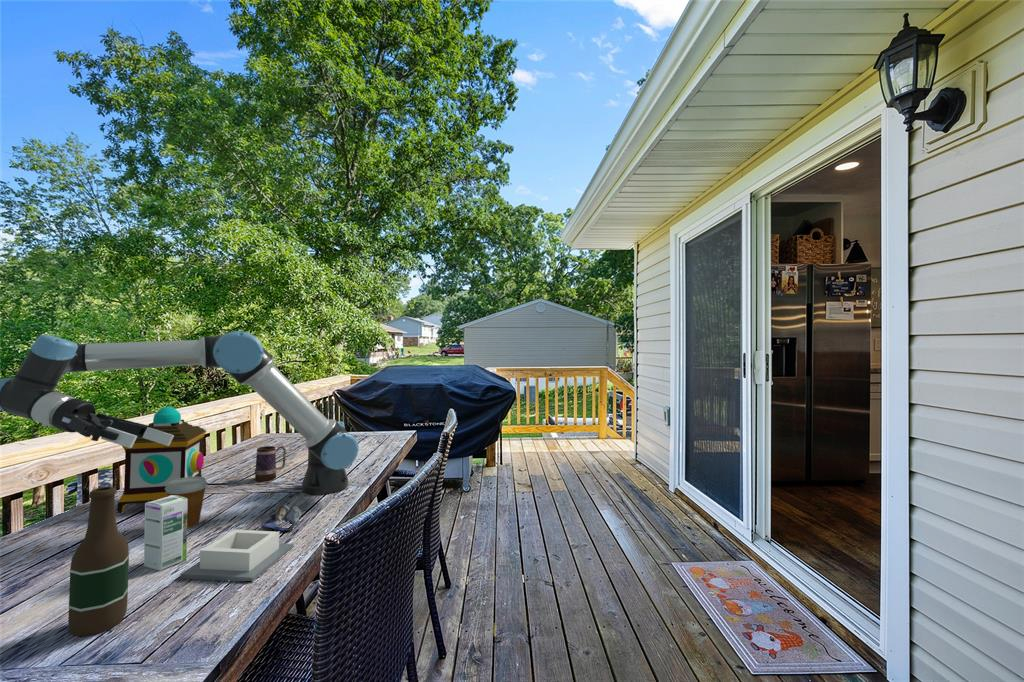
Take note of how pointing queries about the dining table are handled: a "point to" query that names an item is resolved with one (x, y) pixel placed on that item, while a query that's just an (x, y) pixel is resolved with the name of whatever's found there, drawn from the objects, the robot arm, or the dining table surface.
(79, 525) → the dining table surface
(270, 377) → the robot arm
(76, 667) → the dining table surface
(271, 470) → the mug
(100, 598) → the beer bottle
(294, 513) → the snack package
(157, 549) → the syrup box
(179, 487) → the disposable coffee cup
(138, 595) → the dining table surface
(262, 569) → the socket holder
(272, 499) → the dining table surface
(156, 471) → the decorative lantern
